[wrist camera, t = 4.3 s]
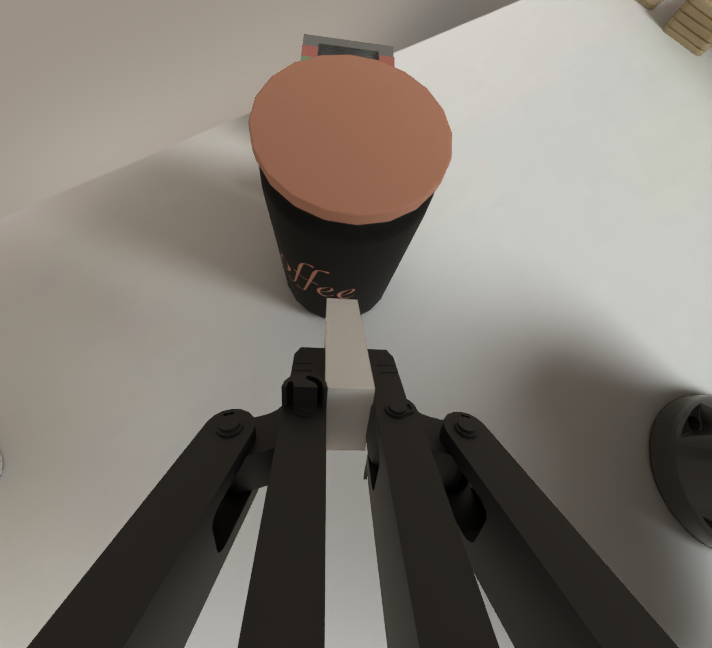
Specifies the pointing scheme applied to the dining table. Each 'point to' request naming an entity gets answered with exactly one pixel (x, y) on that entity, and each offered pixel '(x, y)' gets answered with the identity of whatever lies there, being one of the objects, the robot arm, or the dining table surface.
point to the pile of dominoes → (689, 24)
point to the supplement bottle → (1, 464)
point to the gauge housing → (345, 49)
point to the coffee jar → (346, 172)
